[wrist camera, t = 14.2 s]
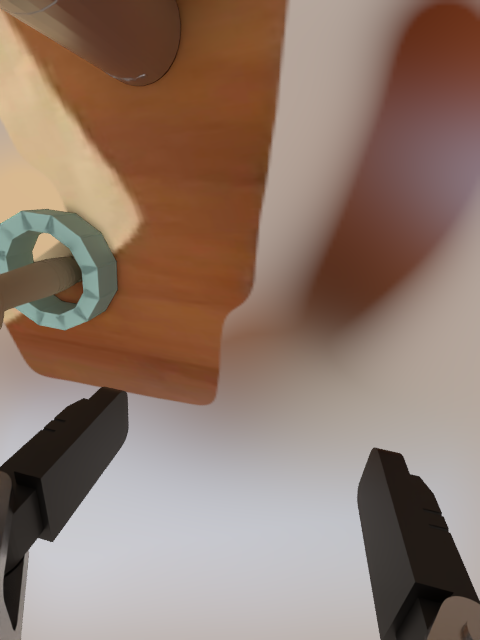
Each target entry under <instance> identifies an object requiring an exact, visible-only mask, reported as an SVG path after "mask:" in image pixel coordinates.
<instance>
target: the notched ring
mask: <svg viewBox="0 0 480 640" xmlns="http://www.w3.org/2000/svg"><path fill="white" fill-rule="evenodd" d="M41 233H49V234H51V235H52V236H53V237H55V238H56V239H57V240H59V241H60V242H61V243H63V244H64V245H65V246H67V247H68V248H69V249H70V251H71V252H72V254H73V256H74V258H75V259H76V261H77V263H78V265H79V266H80V268H81V270H82V279H83V291H84V292H83V294H82V296H81V298H80V300H79V302H78V304H74V303H69V302H63V301H61V300H60V299H59V298H57V297H56V296H54V295H51V296H48V297H45V298H42V299H39V300H35V301H32V302H29V303H26V304H23V305H20V306H17V307H14V308H16V309H17V310H19V311H20V312H22V313H23V314H24V315H26V316H27V317H28V318H30V319H31V320H33V321H34V322H35V323H37V324H38V325H42V326H47V327H52V328H57V329H62V330H67V329H69V328H71V327H74V326H76V325H79V324H81V323H84V322H87V321H89V320H91V319H92V318H94V317H96V316H97V315H99V314H101V313H102V312H104V311H105V310H106V309H107V307H108V305H109V303H110V302H111V300H112V298H113V296H114V295H115V293H116V291H117V290H118V289H117V267H116V260H115V258H114V256H113V254H112V252H111V251H110V249H109V247H108V245H107V243H106V241H105V239H104V237H103V236H102V233H101V232H99V231H98V230H97V229H95V228H94V227H93V226H91V225H90V224H89V223H87V222H86V221H85V220H84V219H82V218H81V217H80V216H78V215H77V214H76V213H69V212H62V211H55V210H49V209H42V210H26V211H21V212H19V213H18V214H16V215H14V216H12V217H11V218H9V219H7V220H6V221H4V222H2V223H0V274H2V273H5V272H8V271H11V270H14V269H17V268H20V267H23V266H26V265H28V264H31V263H34V261H33V254H32V250H33V248H34V245H35V243H36V241H37V238H38V236H39V235H40V234H41Z"/></svg>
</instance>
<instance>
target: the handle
mask: <svg viewBox="0 0 480 640" xmlns="http://www.w3.org/2000/svg"><path fill="white" fill-rule="evenodd" d="M82 280H83V279H82V270H81V268H80V266H79V265H78V263H77V261H76V259H75V258H74V257H59V258H51V259H45V260H41V261H38V262H34V263H31V264H28V265H26V266H23V267H20V268H17V269H14V270H11V271H8V272H5V273H2V274H0V329H1V327H2V323H3V318H4V311H6V310H8V309H11V308H14V307H17V306H20V305H23V304H26V303H29V302H32V301H35V300H39V299H42V298H45V297H48V296H51V295H54V294H57V293H59V292H61V291H63V290H65V289H67V288H69V287H71V286H73V285H74V284H75V283H77V282H80V281H82Z"/></svg>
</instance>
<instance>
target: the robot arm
mask: <svg viewBox="0 0 480 640" xmlns="http://www.w3.org/2000/svg"><path fill="white" fill-rule="evenodd" d="M0 8H1V9H2V10H4V11H6V12H7V13H9V14H11V15H12V16H14V17H15V18H17V19H19V20H20V21H22V22H24V23H25V24H27V25H29V26H30V27H32V28H34V29H35V30H37V31H39V32H40V33H42V34H43V35H45V36H47V37H48V38H50V39H52V40H53V41H55V42H57V43H58V44H60V45H62V46H63V47H65V48H67V49H68V50H70V51H71V52H73V53H75V54H76V55H78V56H80V57H81V58H83V59H85V60H86V61H88V62H90V63H91V64H93V65H95V66H96V67H98V68H100V69H101V70H103V71H104V72H105V73H107V74H108V75H110V76H112V77H114V78H116V79H118V80H120V81H122V82H124V83H126V84H129V85H133V86H144V85H147V84H150V83H153V82H155V81H156V80H158V79H159V78H161V77H162V76H163V75H164V74H165V72H166V71H167V70H168V69H169V67H170V66H171V64H172V62H173V61H174V58H175V55H176V53H177V50H178V45H179V40H180V17H179V10H178V7H177V3H176V0H0ZM127 433H128V397H127V393H126V392H125V391H122V390H117V389H113V388H108V387H102V388H100V389H99V390H98V391H97V392H96V393H95V394H94V395H93V396H92V397H91V398H89V399H84V398H83V399H81V400H79V401H77V402H75V403H73V404H72V405H70V406H67V407H66V408H65V409H64V410H63V411H62V412H61V413H60V414H58V415H57V416H56V417H55V418H54V420H52V421H51V422H49V423H48V424H47V425H46V426H45V427H44V429H43V430H41V431H40V432H38V434H36V435H35V436H34V437H33V438H32V439H31V440H29V442H27V443H26V444H25V445H24V446H23V447H22V448H21V449H20V450H18V451H17V452H16V453H15V454H14V455H13V456H12V457H11V458H9V459H8V460H7V461H6V462H5V463H4V464H3V465H2V466H1V467H0V640H21V630H22V620H23V619H22V618H23V610H24V598H25V589H26V579H27V568H28V558H29V552H28V550H29V549H30V547H31V545H32V544H33V543H34V542H35V541H36V539H37V538H41V539H44V540H47V541H50V542H53V541H54V540H55V538H56V537H57V535H58V534H59V533H60V531H61V530H62V529H63V527H64V526H65V524H66V523H67V522H68V520H69V519H70V517H71V516H72V515H73V513H74V512H75V511H76V509H77V508H78V506H79V505H80V504H81V502H82V501H83V499H84V498H85V497H86V495H87V494H88V493H89V491H90V490H91V488H92V487H93V485H94V484H95V483H96V481H97V480H98V478H99V477H100V476H101V474H102V473H103V471H104V470H105V469H106V467H107V466H108V465H109V463H110V462H111V461H112V459H113V458H114V457H115V455H116V454H117V452H118V451H119V450H120V448H121V447H122V445H123V443H124V441H125V439H126V436H127ZM357 501H358V509H359V515H360V521H361V527H362V532H363V539H364V545H365V551H366V556H367V562H368V568H369V574H370V580H371V586H372V592H373V598H374V604H375V609H376V615H377V621H378V627H379V633H380V639H381V640H480V601H479V599H478V596H477V594H476V592H475V590H474V587H473V585H472V582H471V581H470V578H469V576H468V573H467V571H466V568H465V566H464V564H463V561H462V559H461V557H460V554H459V552H458V550H457V548H456V545H455V543H454V540H453V538H452V536H451V534H450V533H449V532H448V526H447V524H446V522H445V519H444V517H443V516H442V515H441V514H442V512H441V510H440V508H439V506H438V503H437V501H436V498H435V496H434V494H433V493H432V491H431V490H430V489H429V488H428V486H427V485H426V484H425V483H424V482H423V480H422V479H421V478H420V477H419V476H415V475H410V473H409V471H408V468H407V465H406V463H405V460H404V458H403V456H402V454H400V453H396V452H392V451H388V450H383V449H379V448H373V449H372V450H371V453H370V455H369V458H368V461H367V463H366V466H365V469H364V471H363V474H362V477H361V480H360V483H359V486H358V496H357Z"/></svg>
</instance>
